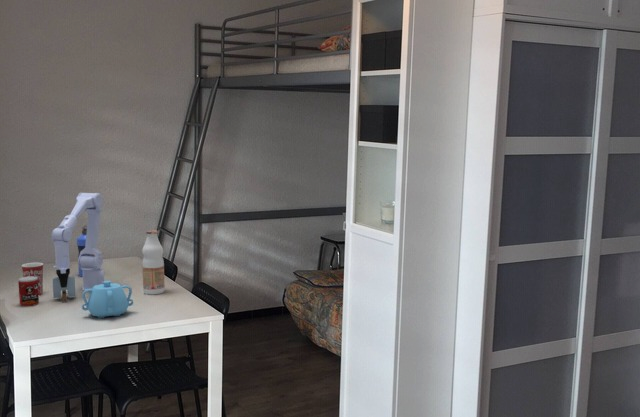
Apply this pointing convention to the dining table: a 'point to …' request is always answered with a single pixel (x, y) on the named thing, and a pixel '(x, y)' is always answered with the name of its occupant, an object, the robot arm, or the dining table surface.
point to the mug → (34, 273)
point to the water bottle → (82, 245)
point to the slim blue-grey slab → (69, 287)
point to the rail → (64, 296)
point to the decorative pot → (107, 299)
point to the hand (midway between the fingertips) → (63, 286)
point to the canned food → (28, 291)
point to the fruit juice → (153, 265)
